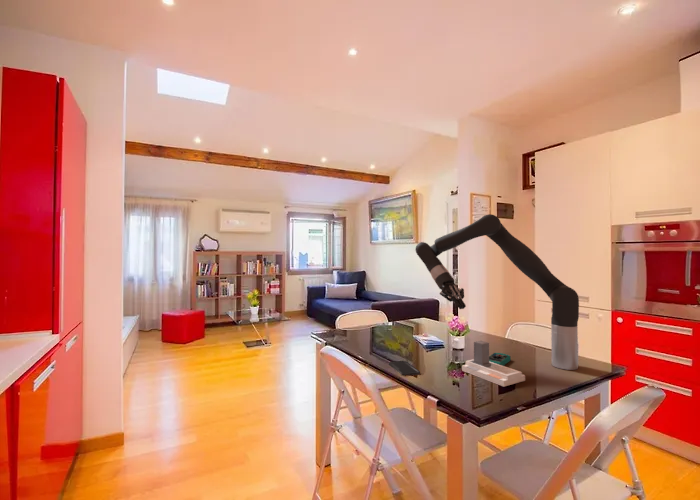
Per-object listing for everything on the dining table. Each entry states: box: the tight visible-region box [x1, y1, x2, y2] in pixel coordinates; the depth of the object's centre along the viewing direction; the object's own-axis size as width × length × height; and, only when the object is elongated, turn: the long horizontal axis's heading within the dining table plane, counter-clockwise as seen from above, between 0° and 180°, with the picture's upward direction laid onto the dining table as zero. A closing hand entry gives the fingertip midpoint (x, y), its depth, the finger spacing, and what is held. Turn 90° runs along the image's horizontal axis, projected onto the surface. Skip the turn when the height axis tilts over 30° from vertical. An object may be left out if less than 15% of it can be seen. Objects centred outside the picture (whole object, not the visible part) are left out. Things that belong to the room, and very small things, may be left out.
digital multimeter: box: [489, 352, 512, 366], centre depth 146 cm, size 7×15×3 cm, turn 140°
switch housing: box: [461, 358, 526, 387], centre depth 131 cm, size 12×19×4 cm, turn 29°
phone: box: [388, 360, 421, 377], centre depth 138 cm, size 8×1×15 cm
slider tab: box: [473, 340, 491, 367], centre depth 135 cm, size 5×5×9 cm
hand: (463, 307), depth 144 cm, fingers closed
